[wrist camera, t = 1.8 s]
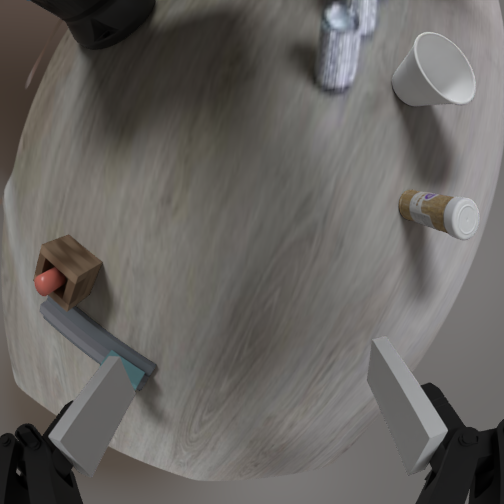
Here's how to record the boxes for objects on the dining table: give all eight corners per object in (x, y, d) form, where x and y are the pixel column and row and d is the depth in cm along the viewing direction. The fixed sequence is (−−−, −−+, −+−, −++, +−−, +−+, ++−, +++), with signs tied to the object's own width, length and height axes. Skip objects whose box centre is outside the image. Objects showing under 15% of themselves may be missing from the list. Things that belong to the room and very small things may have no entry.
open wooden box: (58, 267, 39) (33, 280, 32) (68, 234, 38) (41, 244, 31) (89, 294, 40) (67, 311, 33) (102, 262, 39) (78, 276, 32)
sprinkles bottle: (411, 183, 34) (470, 189, 21) (427, 207, 35) (485, 222, 22) (391, 203, 35) (447, 216, 22) (407, 227, 36) (463, 250, 23)
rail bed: (46, 315, 42) (37, 321, 39) (52, 286, 40) (43, 292, 37) (141, 387, 45) (136, 397, 42) (156, 364, 43) (150, 375, 40)
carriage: (104, 365, 42) (74, 406, 30) (111, 349, 41) (78, 392, 29) (136, 386, 43) (111, 431, 31) (145, 372, 42) (119, 419, 30)
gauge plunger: (50, 277, 34) (33, 287, 29) (54, 262, 33) (36, 271, 29) (63, 289, 34) (46, 300, 30) (67, 274, 33) (50, 284, 29)
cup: (438, 122, 31) (483, 111, 20) (385, 115, 32) (425, 97, 21) (426, 65, 29) (464, 43, 18) (373, 55, 29) (404, 23, 19)
